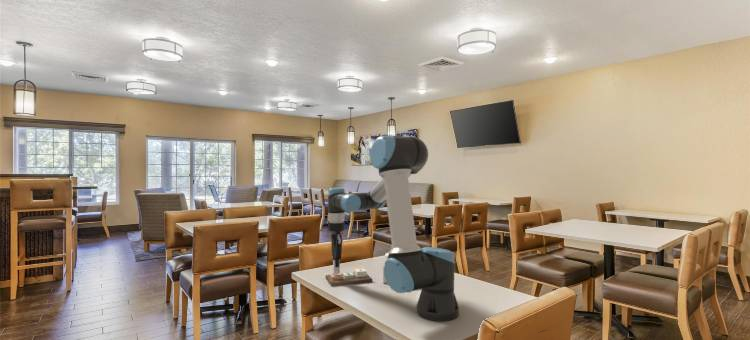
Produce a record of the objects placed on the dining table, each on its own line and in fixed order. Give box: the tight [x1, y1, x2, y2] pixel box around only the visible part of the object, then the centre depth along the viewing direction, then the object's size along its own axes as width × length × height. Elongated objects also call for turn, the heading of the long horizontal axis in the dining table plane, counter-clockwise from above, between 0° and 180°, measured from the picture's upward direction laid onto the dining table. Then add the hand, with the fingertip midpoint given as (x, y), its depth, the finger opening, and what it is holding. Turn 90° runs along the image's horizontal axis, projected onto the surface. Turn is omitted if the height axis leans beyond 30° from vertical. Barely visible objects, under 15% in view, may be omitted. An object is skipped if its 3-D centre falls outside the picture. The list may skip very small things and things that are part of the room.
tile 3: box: [329, 273, 342, 280], centre depth 171 cm, size 4×4×3 cm
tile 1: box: [354, 268, 368, 278], centre depth 175 cm, size 4×4×3 cm
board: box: [325, 271, 373, 287], centre depth 173 cm, size 12×19×2 cm, turn 109°
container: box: [382, 252, 389, 285], centre depth 171 cm, size 8×8×13 cm
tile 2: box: [342, 271, 355, 279], centre depth 173 cm, size 4×4×3 cm
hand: (336, 273), depth 171 cm, fingers closed
